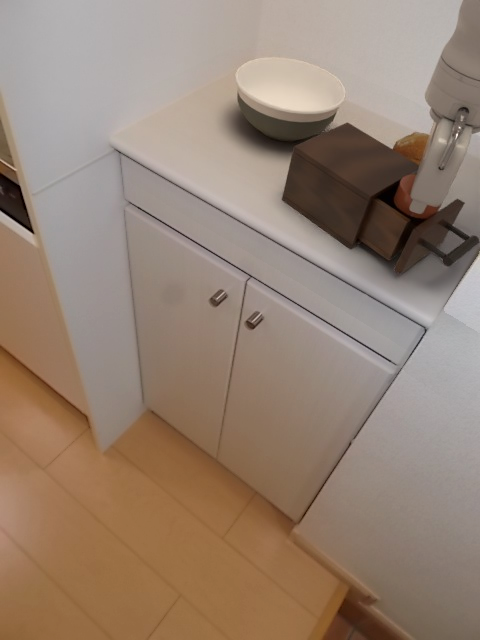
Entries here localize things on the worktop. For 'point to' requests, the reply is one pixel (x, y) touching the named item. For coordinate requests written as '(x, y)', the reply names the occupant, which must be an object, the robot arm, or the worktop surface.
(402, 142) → the bread roll
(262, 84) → the bowl
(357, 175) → the cabinet
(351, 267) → the worktop surface
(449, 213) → the drawer
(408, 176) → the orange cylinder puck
